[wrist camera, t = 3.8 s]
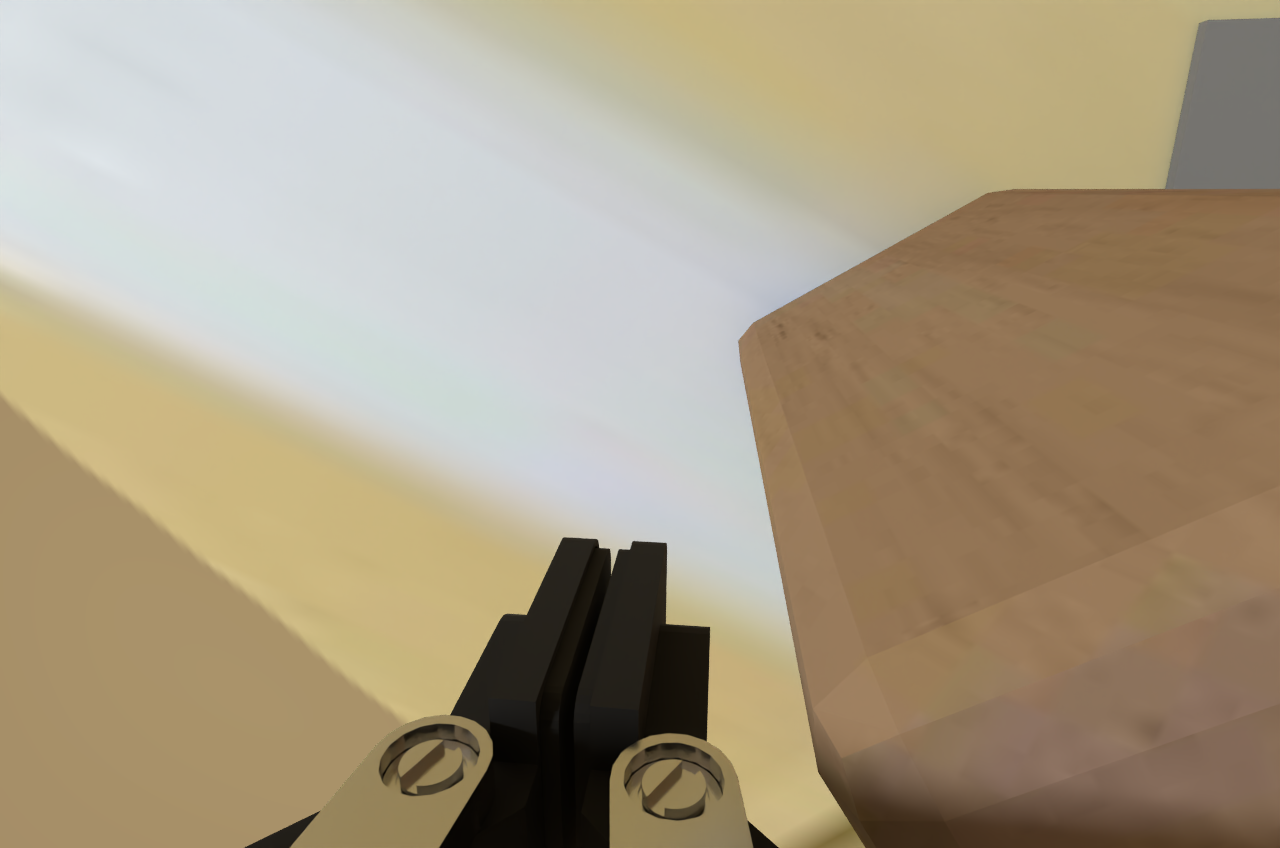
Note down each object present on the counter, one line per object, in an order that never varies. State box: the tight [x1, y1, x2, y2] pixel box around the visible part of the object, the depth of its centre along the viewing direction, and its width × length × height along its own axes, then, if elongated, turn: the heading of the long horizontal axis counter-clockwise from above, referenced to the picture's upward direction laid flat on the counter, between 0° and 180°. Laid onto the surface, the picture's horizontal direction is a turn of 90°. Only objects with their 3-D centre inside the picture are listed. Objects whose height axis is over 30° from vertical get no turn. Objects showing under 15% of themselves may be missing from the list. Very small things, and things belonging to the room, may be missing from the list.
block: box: [738, 189, 1280, 848], centre depth 15 cm, size 10×10×20 cm
